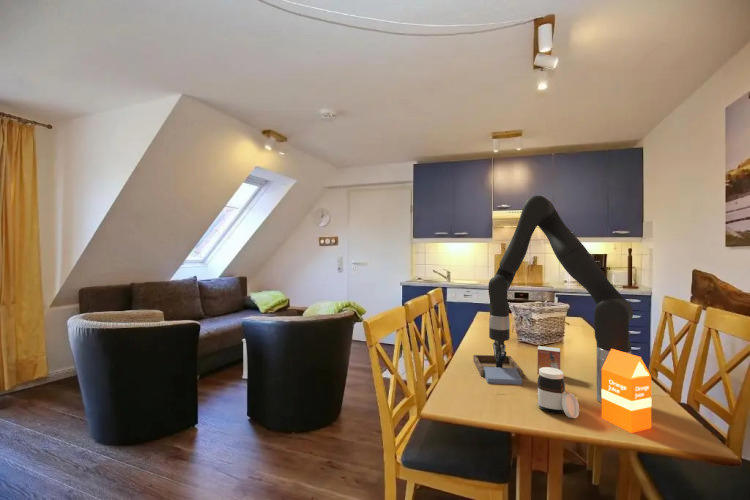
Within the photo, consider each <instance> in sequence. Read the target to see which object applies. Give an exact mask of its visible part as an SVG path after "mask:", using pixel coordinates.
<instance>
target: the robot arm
mask: <svg viewBox="0 0 750 500" xmlns="http://www.w3.org/2000/svg"><path fill="white" fill-rule="evenodd" d="M537 227H538V228H539V229H540V230H541V231H542V233H544V235H545V236H546V238H547V240H548V242H549V245H550V247H551V249H552V251H553V253H554V255H555V257H556V259H557V260H558V262H559V264H561V266H562V267H563V269H564V270H565V271H566V272H567V274H568V275H570V277H571V278H572V279H574V280H575V281H576V282H577V283H578V284H579V285H580V286H581V287H583V288H584V289H585V290H586V291H587V292H588V294H589V295H590V296H591V298H592V299H593V301H594V303H595V304H596V306H595V307H594V313H593V326H594V327H593V328H594V338H595V341H596V400H597V401H598V402H600V403H601V404H602V367H603V365H604V363H605V361H606V359H607V357H608V355H609V353H610V350H611V349H615V350H618V351H622V352H625V353H629V354H632V342H631V340H630V330H629V328H630V325H629V324H630V322H631V321H632V319H633V316H634V310H633V308H632V306H631V304H630V303H629V302H628V301H627V300H626V298H625V297H624V296H623V294H621V293H620V292H619V291H618V289H616V287H614V285H613V284H612V283H611V282H610V281H609V280H608V278H607V277H606V275H605V273H604V272H603V270H602V269H601V268H600V266H599V265H598V263H597V262H596V260H595V259H594V257H593V256H592V255H591V253H590V251H588V249H587V248H586V246H585V245H584V244H583V243H582V242H581V241H580V240H579V238H577V237H576V235H575V233H573V232H572V231H571V230H570V229H569V228H568V227H567V225H566V224H565V223H564V221H563V220H562V218H561V217H560V214H559V213H558V211H557V210H556V208H555V206H554V204H553V203H552V201H551V200H549V199H548V198H546V197H544V196H542V195H533V196H530V197H529V198H528V199H526V201H525V202H524V204H523V207H522V210H521V214H520V216H519V220H518V222H517V225H516V228H515V231H514V233H513V236H512V237H511V240H510V242H509V244H508V246H507V248H506V250H505V252H504V254H503V256H502V258H501V259H500V262H499V267H498V269H497V271H496V273H495V275H494V276H492V277H491V278H490V279H489V281H488V287H487V288H488V297H489V321H488V323H489V324H488V334H489V335H488V337H489V339H491V340H492V341H494V342H492V346H493V347H492V348H493V355H494V357H495V360H496V367H500V368H503V362H504V361H505V357H506V356H507V351H506V347H507V346H506V344H505V342H506V341H509V340H510V337H511V336H510V335H511V333H510V332H511V329H510V326H511V325H510V324H511V323H510V305H509V302H508V290H509V289H510V287H511V285H512V282H513V281H514V278H515V275H516V273H517V272H518V270H519V269H520V267H521V265H522V263H523V261H524V259H525V257H526V255H527V252H528V249H529V245H530V241H531V239H532V236H533V234H534V232H535V231H536V228H537Z"/></svg>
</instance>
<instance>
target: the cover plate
mask: <svg viewBox="0 0 750 500" xmlns="http://www.w3.org/2000/svg"><path fill="white" fill-rule="evenodd" d="M483 369H484V376H485V377H484V379H485V381H486V383H487V384H499V385H501V384H502V385H503V384H504V385H523V378H521V376H520V375H519V373H518V371H517V369H516V368H500V367H483Z"/></svg>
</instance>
